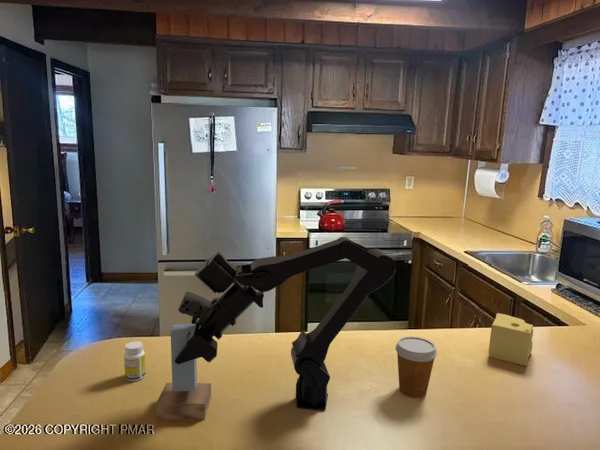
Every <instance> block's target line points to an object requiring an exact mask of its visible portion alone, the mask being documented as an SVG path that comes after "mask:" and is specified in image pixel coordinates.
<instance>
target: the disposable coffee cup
mask: <svg viewBox="0 0 600 450" xmlns="http://www.w3.org/2000/svg"><path fill="white" fill-rule="evenodd" d="M395 351H396V353H397V354H396V355H397V370H398V372H397V373H398V385H399V386H398V387H399V388H398V390H399V392H400V394H402V395H403V396H404V397H407V398H412V399H421V398H424V397H426V395H427V392H428V387H429V383H430V380H431V379H430V378H431V376H432V370H433V366H434V361H435V359H436V357H437V355H438V350H437V348H436V344H435V343H434V342H432V341H430V340H429V339H427V338H425V337H424V338H423V337H419V336H403V337H400V338H399V339H398V341H397V342H396V344H395Z"/></svg>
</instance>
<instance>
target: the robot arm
mask: <svg viewBox="0 0 600 450" xmlns="http://www.w3.org/2000/svg"><path fill="white" fill-rule="evenodd" d="M342 260H348V261H350V262H352V263H353V264H356V269H355V273H354V275H353V277H352V280H351V282H350V283H349V284H348V285H347V287H346V288H345V289H344V291H343V292H342V293H341V295H340V296H339V297H338V298H337V300H336V301H335V302H334V304H333V305H332V306H331V308H330V309H329V310H328V312H326V314H325V316H323V318H322V319H321V321H320V322H319V323H318V324H317V326H316V327H315V328H314V329H313V330H311V331H309V332H307V333H306V331H305V330H301V332H300V333H299V335H298V337H297V338H296V339H295V340H294V341H292V342H291V346H292V347H291V350H290V355H291V356H290V357H291V361H292V365H293V368H294V371H295V373H296V374H297V375H298V378H297V380H296V383H295V401H297V402H296V403H295V404H296V407H297V408H301V409H308V410H316V411H317V410H318V411H326V409H327V405H328V404H327V403H328V397H329V393H328V384H329V382H330V380H331V375H330V374H329V370H328V368H327V366H326V363H325V361H326V358H327V354H328V352H329V348H330V346H331V344H332V342H333V341H334V340H335V338H336V337H337V336H338V335H339V333H340V332H341V330H343V328H344V327H345V326H346V324H347V323H348V322H349V320H350V319H351V318H352V316H353V315H354V314H355V313H356V312H357V310H358V309H359V308H360V306H361V305H362V304H363V302H365V301H366V299H367V297H368V296H369V295H370V294H371V293H373V292H375V291H376V290H379V289H380V288H382V287H383V286H384V285H385V284H387V283H388V282H389V280H391V279H392V278H393V277H394V275H395V273H396V270H397V268H396V263H395V261H394V259H393V258H391V256H389V255H388V254H387V253H385V252H384V251H382V250H381V249H379V248H368V247H366V246H364V245H362V244H360V243H357V242H355V241H353V240H352V239H350V238H348V237H347V236H340V237H339V238H337V239H335V240H331V241H328V242H326V243H323V244H319V245H316V246H313V247H310V248H307V249H304V250H301V251H298V252H295V253H292V254H289V255H283V256H282V255H281V256H280V255H278V256H277V255H276V256H274V255H273V256H268V257H267V256H266V257H261V258H257V259H255V260H253V261H252V262H250V263H246V264H240V265H235V266H233V264H231V262H229V261H228V259H226V258H225V257H224V255H223V254H222V253H221V252H220V251H218V252H216V253H215V254H214V255H212V256H211V257H209V258H207V259H206V260H205V261H203V263H202V264H201V265H200V266H199V267H198V269H197V270H196V271H195V272H194V276H195V277H196V278H197V279H198V280H199V281H200V282H202V284H204V285H205V286H206V287H207V288H208V289H209V290H210V291H212V293H213V294H216V293H218V294H222V295H221V296H220V297H218V296H217V297H214V298H213V299H211V300H208V299H206V298H205V297H203V296H200V295H199V294H196V293H193V292H190V291H185V293H184V295H183V297H182V299H181V302H180V304H179V307H178V308H177V310H178V311H177V312H179V313H180V314H183V315H187V316H189V317H192V319H191V324H196V329H194V330H193V331H192V332H191V333H190V332H188V336H187V344H186V346H185V347H184V348H183V350H182V351H181V352H180V354H179V355H178V356H177V358H176V359H175V363H176V364H181V363H184V362H187V361H190V360H193V359H200V358H202V359H204V360H205V361H206V362H207V363H212V361H213V360H215V358H216V357H218V348H219V347H218V341H216V340H215V339H214V337H215V338H216V339H217V340H220V339H221V338H222V337H223V333H224V332H225V331H226V330H227V329H228V328H229V326H232V327H233V326H235V324H237V319H239V317H240V316H241V315H242V314H243V313H245V311H246V310H247V309H248V308H250V306H252V304H256V305H257V306H258V307H259V308H261V309H262V308H264V297H265V292H269V291H271V290H273V289H275V288H277V287H279V286H282V285H283V284H284V283H285V282H287V281H288V280H289V279H290V278H292V277H294V276H296V275H300V274H303V273H305V272H308V271H312V270H314V269H317V268H318V269H319V268H320V267H324V266H327V265H329V264H333V263H336V262H339V261H342Z"/></svg>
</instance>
